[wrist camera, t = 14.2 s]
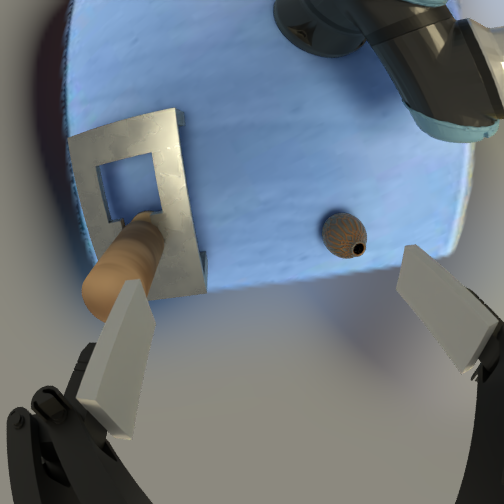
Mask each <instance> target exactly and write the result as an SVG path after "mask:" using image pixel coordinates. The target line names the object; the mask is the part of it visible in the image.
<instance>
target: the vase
mask: <svg viewBox="0 0 504 504" xmlns="http://www.w3.org/2000/svg"><path fill="white" fill-rule="evenodd" d="M322 237H323V241H324V244H325V246H326V247H327V249H328V250H329V251H330V252H331V253H332V254H334V255H336V256H338V257H340V258H345V259H348V258H353V257H358V256H361V255H362V254H363V253H364V252H365V250H366V242H367V233H366V230H365V228H364V226H363V224H362V223H361V221H360V220H359V219H357V218H356V217H355V216H353V215H351V214H347V213H337V214H334V215H332V216H331V217H329V218H328V219H327V220H326V222H325V224H324V226H323V229H322Z"/></svg>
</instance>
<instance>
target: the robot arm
mask: <svg viewBox="0 0 504 504" xmlns="http://www.w3.org/2000/svg"><path fill="white" fill-rule="evenodd" d="M447 1H448V0H275V3H274V18H275V21H276V23H277V25H278V27H279V29H280V30H281V32H282V33H283V34H284V36H285V37H286V38H287V39H288V40H289V41H291V42H292V43H293V44H294V45H296V46H297V47H299V48H300V49H302V50H304V51H306V52H308V53H311V54H314V55H317V56H321V57H329V58H335V57H342V56H345V55H348V54H350V53H352V52H354V51H356V50H358V49H359V48H360V47H362V46H363V45H364V43H365V42H366V40H367V41H368V43H369V44H370V46H371V47H372V49H373V50H374V52H375V53H376V55H377V56H378V58H379V59H380V61H381V62H382V64H383V66H384V67H385V69H386V70H387V72H388V74H389V76H390V77H391V79H392V81H393V83H394V84H395V86H396V88H397V90H398V92H399V93H400V95H401V97H402V102H403V103H404V105H405V106H406V108H408V109H409V111H410V113H411V115H412V117H413V119H414V120H415V122H416V124H417V126H418V127H419V128H420V129H421V130H422V131H423V132H425V133H427V134H428V135H429V136H431V137H433V138H435V139H438V140H442V141H446V142H453V143H471V142H477V141H481V140H483V137H486V138H489V137H491V136H493V135H494V134H495V133H496V132H497V130H498V127H499V119H504V26H502V27H496V28H486V27H484V26H483V25H481V24H479V23H477V22H476V21H474V20H472V19H470V18H467V19H462V20H458V21H456V20H455V19H454V18H453V16H452V14H451V13H450V11H449V10H448V8H447V6H446V5H445V4H446V3H447ZM396 290H397V292H398V293H399V294H400V295H401V296H402V298H403V299H404V300H405V301H406V302H407V303H408V305H409V306H410V307H411V308H412V310H413V311H414V312H415V313H416V314H417V316H418V317H419V318H420V319H421V321H422V322H423V323H424V324H425V326H426V327H427V328H428V330H429V331H430V332H431V333H432V335H433V336H434V337H435V339H436V340H437V341H438V343H439V344H440V345H441V347H442V348H443V349H444V351H445V352H446V353H447V355H448V356H449V358H450V359H451V360H452V362H453V363H454V365H455V366H456V368H457V369H458V370H459V372H460V373H461V374H463V373H464V372H466V371H468V370H470V369H472V367H473V366H474V364H475V363H476V361H477V359H479V360H480V362H481V363H480V365H479V366H478V368H477V369H476V371H475V372H474V374H473V375H472V377H471V380H473V379H474V378H475V376H476V375H478V377H477V378H476V380H475V381H477V382H478V385H477V401H476V411H475V420H474V428H473V434H472V440H471V446H470V451H469V456H468V460H467V465H466V469H465V473H464V477H463V480H462V484H461V487H460V490H459V494H458V497H457V500H456V502H455V504H504V322H503V321H502V320H501V319H500V318H499V317H498V316H497V315H496V314H495V313H494V312H493V311H492V310H491V309H490V308H489V307H488V306H487V305H486V304H484V302H483V301H482V300H481V299H479V297H478V296H477V295H476V294H475V293H474V292H473V291H471V290H470V289H468V288H466V287H465V286H463V285H462V284H461V283H460V282H459V281H458V280H457V279H456V278H455V277H453V276H452V275H451V274H450V273H449V272H448V271H447V270H446V269H445V268H443V267H442V266H441V265H440V264H439V263H438V262H436V261H435V260H434V259H433V258H432V257H430V256H429V255H428V254H427V253H426V252H424V251H423V250H422V249H421V248H420V247H418V246H417V245H416V244H415V245H408V246H405V248H404V254H403V259H402V264H401V269H400V274H399V278H398V283H397V287H396ZM155 326H156V323H155V320H154V317H153V314H152V312H151V309H150V306H149V303H148V301H147V298H146V295H145V292H144V289H143V286H142V283H141V280H140V279H135V280H126V281H125V283H124V285H123V287H122V289H121V291H120V293H119V295H118V297H117V299H116V301H115V303H114V305H113V307H112V310H111V312H110V314H109V316H108V318H107V320H106V323H105V325H104V327H103V329H102V332H101V334H100V336H99V339H98V341H97V343H89V344H88V345H87V346H86V347H85V349H83V351H82V352H81V354H80V356H79V359H78V363H77V364H76V366H75V368H74V371H73V373H72V376H71V378H70V381H69V383H68V386H67V388H66V391H65V394H64V396H63V395H62V393H61V392H60V391H59V390H58V389H57V388H56V387H54V386H45V387H42V388H40V389H39V390H38V391H37V392H36V393H35V395H34V396H33V398H32V401H31V409H32V410H33V411H34V412H35V413H36V414H34V415H32V414H31V413H29V411H27V409H25V408H23V407H17V408H15V409H14V410H13V411H12V412H10V414H9V416H8V419H7V454H8V467H9V476H10V484H11V490H12V496H13V501H14V504H153V503H152V502H151V501H150V499H149V498H148V497H147V496H146V494H145V493H144V492H143V491H142V489H141V488H140V487H139V486H138V484H137V483H136V482H135V480H134V479H133V477H132V476H131V475H130V473H129V472H128V470H127V469H126V468H125V466H124V465H123V463H122V462H121V460H120V459H119V457H118V456H117V454H116V452H115V451H114V449H113V448H112V446H111V445H110V443H109V442H108V441H107V439H106V435H107V431H108V432H109V433H110V434H111V435H112V436H113V437H114V438H120V439H128V440H132V439H133V432H134V426H135V420H136V414H137V409H138V403H139V398H140V393H141V387H142V383H143V378H144V373H145V368H146V364H147V359H148V355H149V351H150V346H151V342H152V338H153V334H154V330H155Z"/></svg>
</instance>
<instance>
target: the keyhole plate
mask: <svg viewBox="0 0 504 504" xmlns="http://www.w3.org/2000/svg"><path fill="white" fill-rule="evenodd" d="M180 126H185V117H184V112H182V111H180V110H178V109H176V108H170V109H165V110H161V111H156V112H152V113H147V114H143V115H139V116H135V117H132V118H128V119H124V120H121V121H117V122H114V123H110V124H107V125H104V126H101V127H98V128H94V129H91V130H89V131H86V132H83V133H80V134H77V135H74V136H72V137H69V138H68V144H69V150H70V156H71V161H72V167H73V172H74V177H75V181H76V186H77V190H78V194H79V198H80V202H81V206H82V210H83V214H84V217H85V221H86V224H87V228H88V231H89V234H90V238H91V241H92V244H93V247H94V250H95V253H96V256H97V259H98V261H99V259H100V258H101V257H102V255H103V254H104V253H105V251H106V250H107V249H108V247H109V246H110V245H111V243H112V242H113V241H114V240H115V238H116V237H117V236H118V235H119V233H120V232H121V231H122V230H123V228H124V227H125V223H124V219H123V218H120V219H115V220H112V219H111V215H110V211H109V207H108V203H107V199H106V195H105V191H104V186H103V182H102V177H101V172H100V167H99V165H102V164H106V163H109V162H113V161H117V160H121V159H125V158H129V157H133V156H137V155H141V154H146V153H150V152H152V157H153V163H154V169H155V175H156V180H157V185H158V191H159V196H160V201H161V206H162V211H157V212H152V213H151V214H150V219H151V223H152V224H153V225H154V226H156V227H157V228H158V229H159V231H160V232H161V234H162V236H163V239H164V250H163V253H162V256H161V258H160V261H159V264H158V267H157V270H156V272H155V275H154V278H153V281H152V284H151V287H150V290H149V293H148V296H147V301H149V300H158V299H166V298H175V297H182V296H190V295H198V294H205V293H207V275H208V260H207V255H206V252H199V247H198V242H197V237H196V232H195V227H194V221H193V216H192V210H191V205H190V199H189V193H188V187H187V181H186V175H185V169H184V162H183V155H182V149H181V142H180V134H179V127H180Z"/></svg>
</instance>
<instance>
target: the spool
mask: <svg viewBox="0 0 504 504" xmlns="http://www.w3.org/2000/svg"><path fill="white" fill-rule="evenodd" d="M152 212H154V211H142V212H140V213H138V214H137V215H136V216H135V217H134V218H133V220H132V221H131V222H130V223H129V224H127V225H126V226H125V227H124V228H123V230H122V231H121V232H120V233H119V235H118V236H117V237H116V238H115V240H114V241H113V242H112V243H111V245H110V246H109V247H108V249H107V250H106V251H105V253H104V254H103V255H102V257H101V258H100V259H99V261H98V262H97V263H96V265H95V266H94V268H93V269H92V270H91V272H90V273H89V275H88V276H87V277H86V279H85V281H84V283H83V286H82V297H83V300H84V303H85V305H86V306H87V308H88V309H89V311H90V312H91V313H92V314H93V315H94V316H95V317H96V318H98V319H100V320H101V321H103V322H105V323H106V320H107V318H108V316H109V314H110V312H111V310H112V307H113V305H114V303H115V301H116V299H117V297H118V295H119V293H120V291H121V289H122V287H123V285H124V283H125V281H126V280H135V279H140V280H141V283H142V286H143V289H144V292H145V295H146V298H147V296H148V293H149V290H150V287H151V284H152V281H153V278H154V275H155V272H156V270H157V267H158V264H159V261H160V258H161V256H162V253H163V250H164V239H163V236H162V234H161V232H160V231H159V229H158V228H157V227H156V226H154V225H153V224H152V223H151V219H150V214H151V213H152Z"/></svg>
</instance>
